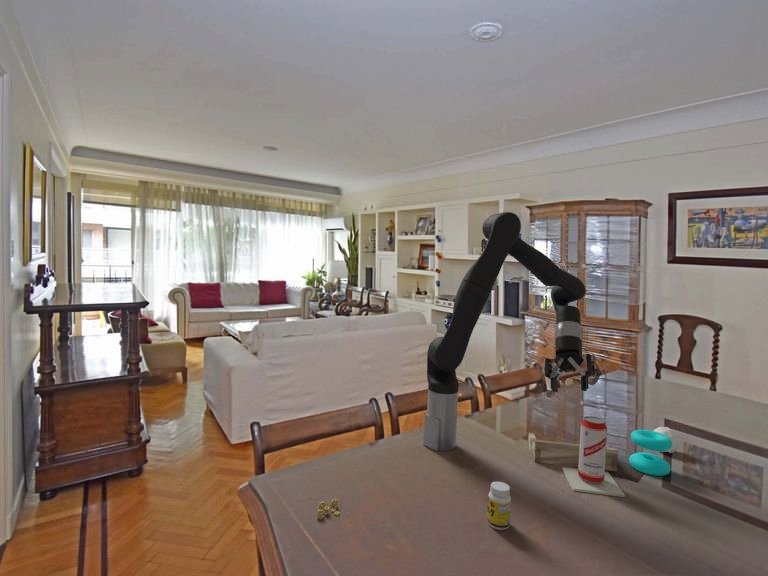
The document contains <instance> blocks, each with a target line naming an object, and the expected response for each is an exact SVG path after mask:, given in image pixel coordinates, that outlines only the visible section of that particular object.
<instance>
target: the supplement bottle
mask: <svg viewBox="0 0 768 576" xmlns="http://www.w3.org/2000/svg"><path fill="white" fill-rule="evenodd" d="M489 488H490V490H489V492H488V496H487V514H486V520H487V521H486V523H487V524H488V525H489V527H491V528H492V529H494V530H500V531H501V530H502V531H503V530H507V529H508V528H510V525H511V507H512V498H511V495H510V494H511V491H510V490H511V487H510V485H509V484H507V483H505V482H502V481H493V482H491V483H490V487H489Z"/></svg>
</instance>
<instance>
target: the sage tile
mask: <svg viewBox="0 0 768 576" xmlns="http://www.w3.org/2000/svg"><path fill="white" fill-rule="evenodd" d="M561 470H562V473H563V474H564V476H565V479H566V480H567V482H568V484H569V486H570V488H571V490H572V491H573V492H578V493H579V492H580V493H586V494H587V493H588V494H596V495H604V496H613V497H621V498H625V497H626V495H625V493H624V492H623V490H622V489H621V488H620V486H619V485H618V484H617V482H616V481H615V479H614V478H613V477H612V475H611V474H610V472H608V471H605V477H604V481H603V482H601V483H600V484H591V483H587V482H585V481H583V480H582V479H581V478H580V477H579V475H578V468H575V467H566V466H561Z"/></svg>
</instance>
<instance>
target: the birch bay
mask: <svg viewBox="0 0 768 576" xmlns="http://www.w3.org/2000/svg"><path fill="white" fill-rule="evenodd" d="M535 435H536V434H535V432H528V437H527V446H528V448H529V451H530V454H531V457H532V460H533V461H534V463H540V464H550V465H557V466H558V465H559V466H564V467H566V466H568V467H573V468H575V467H576V468H578V465H579V449H580V443H570V442H563V441H562V442H561V441H551V440H542V439H537V438H536V436H535ZM618 463H619V449H618V448H617V447H610V446H609V445H608V444H606V461H605V471H612V472H618Z"/></svg>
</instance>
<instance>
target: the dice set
mask: <svg viewBox="0 0 768 576" xmlns="http://www.w3.org/2000/svg"><path fill="white" fill-rule="evenodd" d="M338 504H339V500H338V499H335V498H333V499H331V500H330V506H327V503H326V502H325V501H320V502H319V504H318V510H317V511H316V518H317V520H323V519H324V517H325V516H329V515H330V513H333V516H336V517H338V516H340V514H341V512H340V511H338V510H337V508H338V507H339V505H338ZM330 507H331V509H330Z"/></svg>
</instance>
